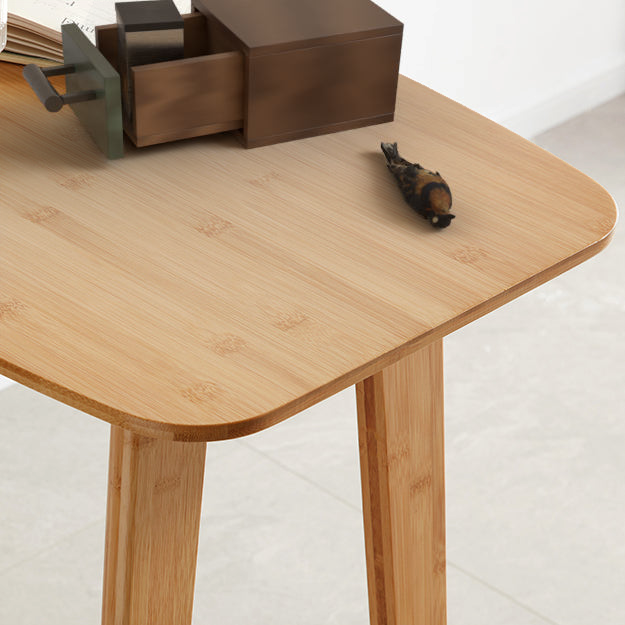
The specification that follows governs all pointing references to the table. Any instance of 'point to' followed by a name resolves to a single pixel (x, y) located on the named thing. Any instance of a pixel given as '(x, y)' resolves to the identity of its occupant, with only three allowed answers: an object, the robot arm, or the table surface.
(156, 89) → the drawer
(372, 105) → the cabinet
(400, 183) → the bird model
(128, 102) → the steel tin
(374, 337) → the table surface
